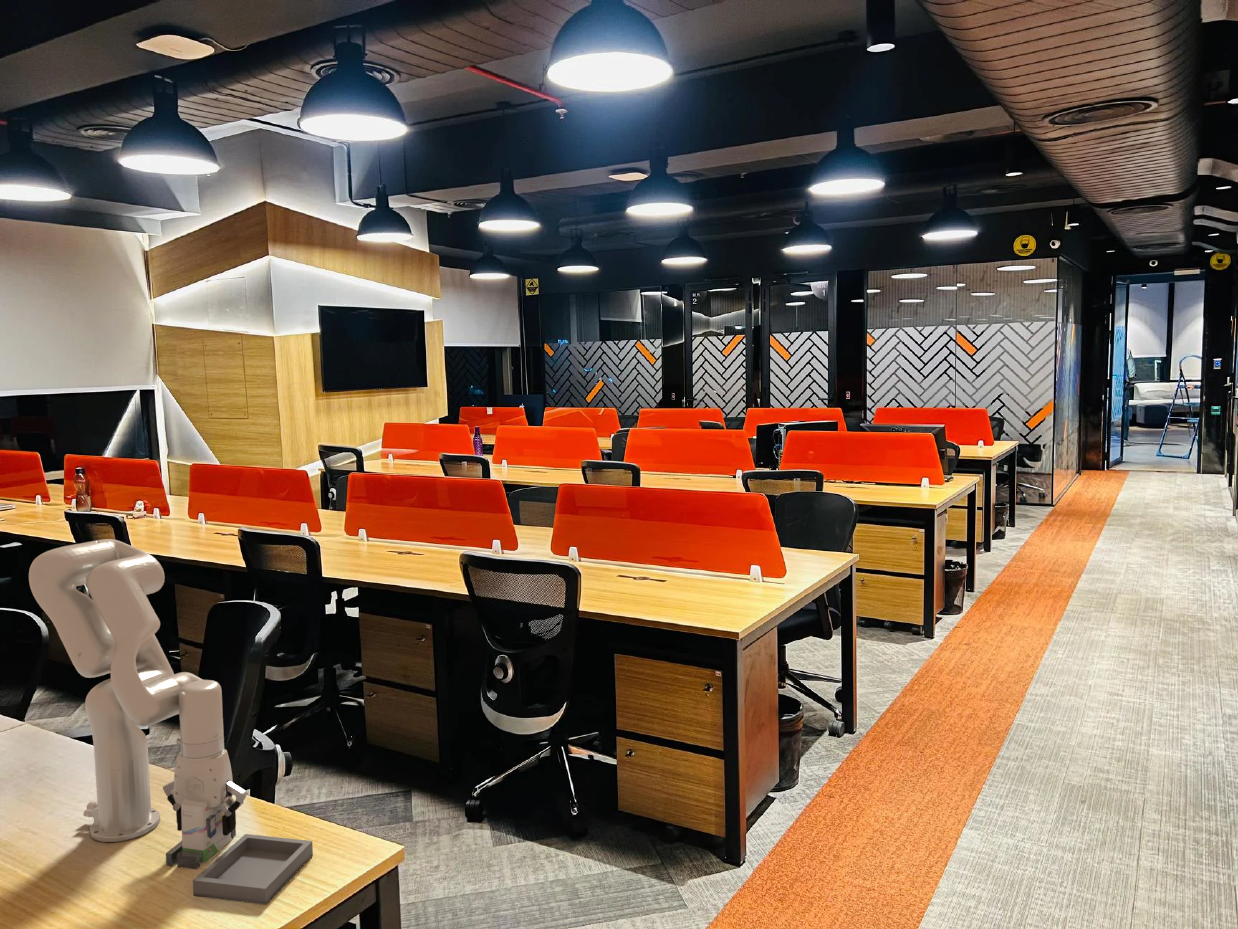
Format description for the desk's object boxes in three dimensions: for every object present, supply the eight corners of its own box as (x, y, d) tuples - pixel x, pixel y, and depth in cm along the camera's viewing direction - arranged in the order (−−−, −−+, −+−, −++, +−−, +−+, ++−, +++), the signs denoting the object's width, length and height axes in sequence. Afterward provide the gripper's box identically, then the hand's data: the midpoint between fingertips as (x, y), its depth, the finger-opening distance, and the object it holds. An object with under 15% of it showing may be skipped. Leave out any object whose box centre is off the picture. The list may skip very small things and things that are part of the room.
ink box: (210, 838, 180) (207, 782, 179) (233, 841, 179) (230, 784, 178) (181, 861, 172) (178, 802, 170) (205, 864, 171) (202, 805, 169)
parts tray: (193, 896, 160) (192, 880, 160) (246, 848, 176) (245, 834, 176) (266, 904, 158) (265, 888, 157) (312, 855, 174) (312, 841, 173)
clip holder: (166, 866, 170) (165, 853, 170) (207, 832, 182) (207, 820, 182) (196, 869, 169) (195, 856, 168) (235, 835, 181) (235, 823, 181)
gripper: (149, 750, 171) (153, 835, 173) (231, 757, 168) (235, 844, 170) (175, 734, 178) (179, 816, 180) (254, 741, 175) (258, 824, 177)
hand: (206, 829), depth 175 cm, fingers open, 9 cm apart
